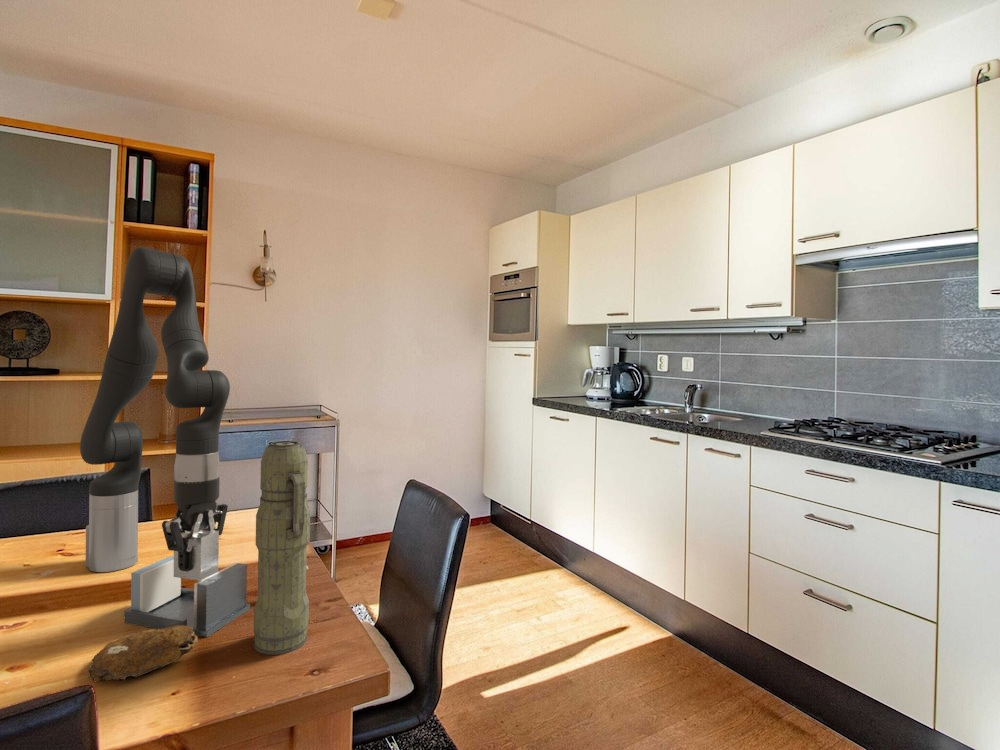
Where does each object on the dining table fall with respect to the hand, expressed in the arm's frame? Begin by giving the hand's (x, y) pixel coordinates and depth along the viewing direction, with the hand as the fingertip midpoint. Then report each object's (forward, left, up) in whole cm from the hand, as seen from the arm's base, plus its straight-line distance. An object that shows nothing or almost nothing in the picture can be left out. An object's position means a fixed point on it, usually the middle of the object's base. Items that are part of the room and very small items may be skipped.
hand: (196, 565), depth 102 cm
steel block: (0, 0, -2) cm, 2 cm away
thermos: (+21, -3, -10) cm, 23 cm away
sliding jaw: (-9, 0, -9) cm, 12 cm away
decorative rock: (+4, -14, -10) cm, 18 cm away
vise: (-1, 0, -10) cm, 10 cm away
